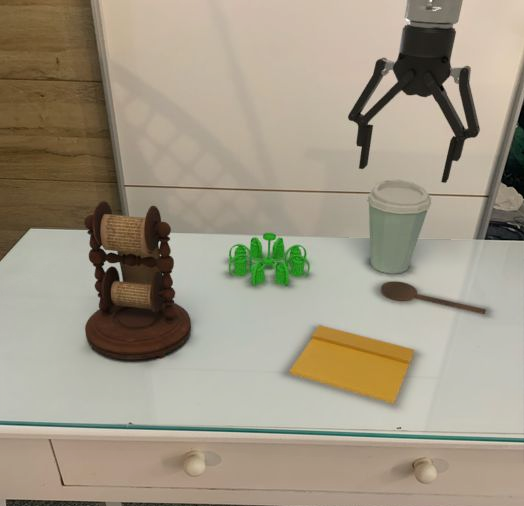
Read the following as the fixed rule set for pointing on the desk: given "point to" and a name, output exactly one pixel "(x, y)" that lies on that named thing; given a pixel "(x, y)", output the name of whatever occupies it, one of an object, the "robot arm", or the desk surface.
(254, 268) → the chandelier
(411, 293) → the spoon
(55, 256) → the desk surface
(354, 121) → the robot arm
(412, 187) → the disposable coffee cup
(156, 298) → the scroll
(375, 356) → the envelope
